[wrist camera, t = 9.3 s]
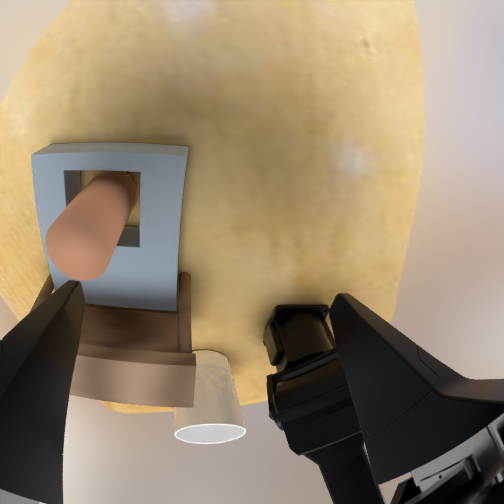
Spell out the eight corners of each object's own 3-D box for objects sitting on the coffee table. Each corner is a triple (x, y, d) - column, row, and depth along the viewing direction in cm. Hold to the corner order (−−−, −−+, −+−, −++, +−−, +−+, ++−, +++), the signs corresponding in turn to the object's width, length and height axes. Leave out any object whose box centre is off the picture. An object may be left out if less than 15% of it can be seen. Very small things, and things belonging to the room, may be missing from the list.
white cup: (177, 380, 34) (181, 445, 26) (167, 348, 30) (167, 425, 21) (233, 376, 35) (245, 440, 27) (233, 343, 31) (247, 420, 23)
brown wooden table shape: (193, 272, 24) (196, 365, 16) (189, 323, 28) (193, 407, 20) (52, 260, 20) (11, 340, 13) (67, 312, 24) (44, 388, 16)
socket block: (188, 146, 18) (186, 156, 15) (176, 287, 25) (175, 311, 22) (50, 144, 15) (31, 154, 13) (68, 278, 22) (58, 299, 19)
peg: (138, 169, 18) (106, 218, 12) (137, 217, 20) (113, 283, 14) (89, 167, 17) (39, 215, 11) (91, 214, 19) (53, 277, 13)
